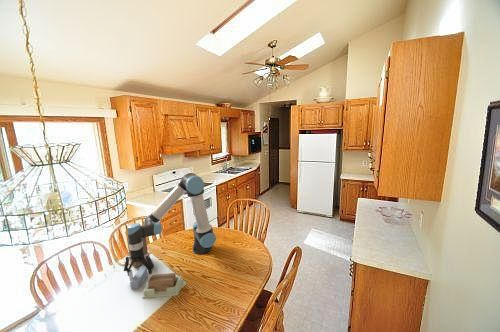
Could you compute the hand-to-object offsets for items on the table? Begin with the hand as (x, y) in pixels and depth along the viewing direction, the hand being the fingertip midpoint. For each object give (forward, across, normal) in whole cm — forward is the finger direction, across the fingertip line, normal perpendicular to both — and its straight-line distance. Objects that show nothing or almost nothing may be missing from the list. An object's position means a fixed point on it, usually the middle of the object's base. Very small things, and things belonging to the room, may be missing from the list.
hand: (140, 279), depth 135 cm
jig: (0, +18, -10) cm, 21 cm away
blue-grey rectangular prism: (+1, 0, 0) cm, 1 cm away
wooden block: (0, -9, +19) cm, 21 cm away
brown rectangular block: (-1, +18, -10) cm, 20 cm away
